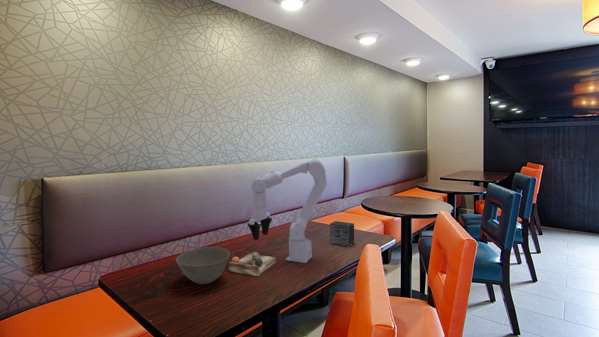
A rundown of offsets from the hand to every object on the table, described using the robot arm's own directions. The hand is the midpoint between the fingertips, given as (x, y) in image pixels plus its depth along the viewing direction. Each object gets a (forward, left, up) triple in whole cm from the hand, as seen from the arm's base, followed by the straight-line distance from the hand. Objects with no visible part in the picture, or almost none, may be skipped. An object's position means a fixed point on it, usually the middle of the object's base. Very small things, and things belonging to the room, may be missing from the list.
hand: (260, 236), depth 137 cm
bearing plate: (-1, +8, -10) cm, 13 cm away
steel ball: (-1, +6, -6) cm, 9 cm away
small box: (-28, -32, -10) cm, 44 cm away
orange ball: (+4, +13, -6) cm, 15 cm away
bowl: (+8, +27, -10) cm, 30 cm away
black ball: (-6, +11, -6) cm, 14 cm away
